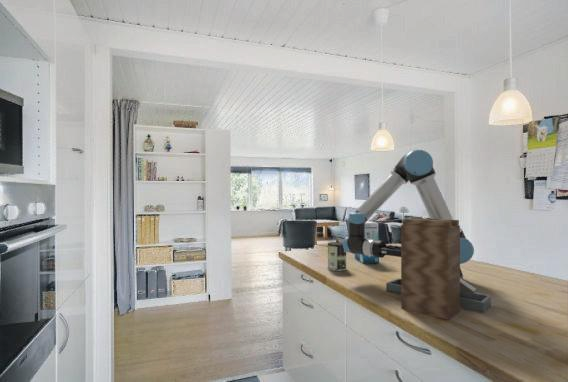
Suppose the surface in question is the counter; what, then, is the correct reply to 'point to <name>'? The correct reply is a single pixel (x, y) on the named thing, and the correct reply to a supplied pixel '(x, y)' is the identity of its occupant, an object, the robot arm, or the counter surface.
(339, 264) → the coffee can
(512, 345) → the counter surface
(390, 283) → the tray
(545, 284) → the counter surface
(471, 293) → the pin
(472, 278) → the counter surface
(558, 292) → the counter surface
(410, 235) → the post
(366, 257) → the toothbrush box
